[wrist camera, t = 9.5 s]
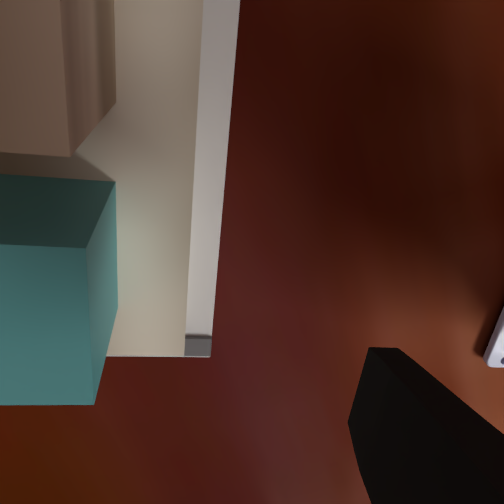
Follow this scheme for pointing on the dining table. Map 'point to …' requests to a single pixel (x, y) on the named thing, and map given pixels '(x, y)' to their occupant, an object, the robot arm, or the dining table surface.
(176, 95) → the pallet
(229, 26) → the dock
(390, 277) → the dining table surface
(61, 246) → the block
